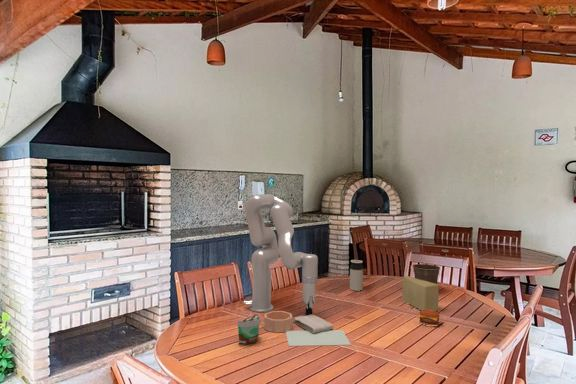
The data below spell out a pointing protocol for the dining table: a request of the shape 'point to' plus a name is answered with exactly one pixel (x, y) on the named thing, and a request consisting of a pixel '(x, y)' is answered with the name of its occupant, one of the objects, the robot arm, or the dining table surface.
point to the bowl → (278, 321)
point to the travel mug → (356, 275)
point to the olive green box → (420, 293)
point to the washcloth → (313, 323)
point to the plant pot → (426, 272)
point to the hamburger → (429, 317)
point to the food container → (249, 330)
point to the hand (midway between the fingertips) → (308, 316)
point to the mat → (317, 338)
